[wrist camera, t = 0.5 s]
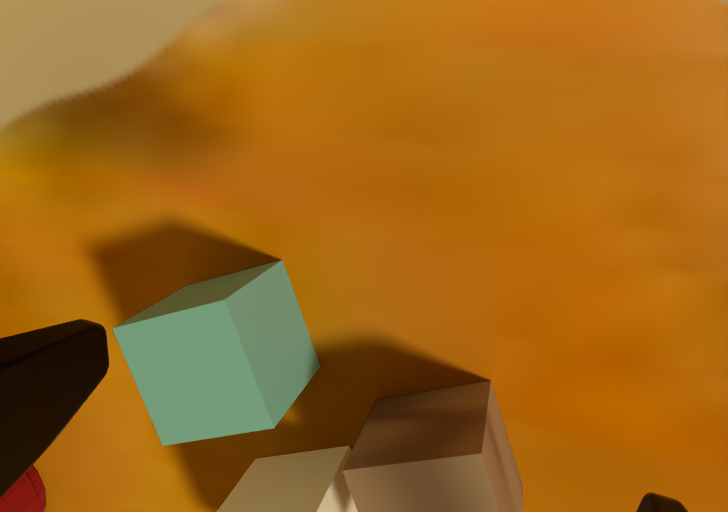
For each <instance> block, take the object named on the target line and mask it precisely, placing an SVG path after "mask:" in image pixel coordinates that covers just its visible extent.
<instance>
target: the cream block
mask: <svg viewBox="0 0 728 512" xmlns="http://www.w3.org/2000/svg"><path fill="white" fill-rule="evenodd" d="M351 452H352V451H351V448H350V446H343V447H335V448H328V449H321V450H314V451H307V452H300V453H293V454H285V455H278V456H271V457H264V458H257V459H255V460H254V461H253V463H252V464H251V465H250V467H249V468H248V470H247V471H246V472H245V474H244V475H243V476H242V478H241V479H240V480H239V482H238V483H237V485H236V486H235V487H234V489H233V490H232V491H231V493H230V494H229V495H228V497H227V498H226V500H225V501H224V502H223V504H222V505H221V506H220V508H219V509H218V510H217V512H357V509H356V506H355V503H354V501H353V498H352V495H351V493H350V490H349V487H348V484H347V482H346V479H345V476H344V474H343V471H342V470H343V468H344V466H345V464H346V462H347V460H348V458H349V456H350V454H351Z"/></svg>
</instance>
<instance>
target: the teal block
mask: <svg viewBox="0 0 728 512" xmlns="http://www.w3.org/2000/svg"><path fill="white" fill-rule="evenodd" d="M112 329H113V331H114V334H115V336H116V338H117V340H118V343H119V345H120V347H121V350H122V352H123V354H124V357H125V359H126V361H127V364H128V366H129V368H130V371H131V373H132V375H133V378H134V380H135V382H136V385H137V387H138V389H139V392H140V394H141V396H142V399H143V401H144V403H145V406H146V408H147V410H148V412H149V415H150V417H151V419H152V422H153V424H154V426H155V429H156V431H157V433H158V436H159V438H160V440H161V443H162V445H163V446H165V445H172V444H178V443H185V442H191V441H197V440H204V439H210V438H216V437H223V436H229V435H235V434H242V433H248V432H254V431H261V430H267V429H273V428H275V426H276V425H277V424H278V422H279V421H280V420H281V418H282V417H283V416H284V414H285V413H286V412H287V410H288V409H289V408H290V406H291V405H292V404H293V402H294V401H295V400H296V398H297V397H298V396H299V394H300V393H301V392H302V390H303V389H304V388H305V386H306V385H307V384H308V382H309V381H310V380H311V378H312V377H313V376H314V374H315V373H316V372H317V370H318V369H319V368H320V363H319V360H318V357H317V355H316V352H315V349H314V346H313V344H312V341H311V338H310V335H309V332H308V330H307V327H306V324H305V321H304V319H303V316H302V313H301V310H300V308H299V305H298V302H297V299H296V297H295V294H294V291H293V288H292V285H291V283H290V280H289V277H288V274H287V272H286V269H285V266H284V263H283V261H282V260H280V261H276V262H272V263H269V264H265V265H261V266H258V267H254V268H250V269H247V270H243V271H239V272H236V273H232V274H228V275H225V276H221V277H217V278H214V279H210V280H206V281H202V282H199V283H195V284H191V285H188V286H185V287H184V288H182V289H180V290H178V291H177V292H175V293H173V294H171V295H170V296H168V297H166V298H164V299H163V300H161V301H159V302H157V303H156V304H154V305H152V306H150V307H149V308H147V309H145V310H143V311H142V312H140V313H138V314H136V315H135V316H133V317H131V318H129V319H128V320H126V321H124V322H122V323H121V324H119V325H117V326H115V327H114V328H112Z"/></svg>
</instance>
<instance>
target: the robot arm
mask: <svg viewBox="0 0 728 512" xmlns="http://www.w3.org/2000/svg"><path fill="white" fill-rule="evenodd" d="M108 367H109V355H108V345H107V335H106V330H105V328H104V327H103V326H102V325H101V324H98V323H95V322H92V321H88V320H84V319H79V320H74V321H70V322H66V323H62V324H58V325H54V326H50V327H46V328H41V329H37V330H33V331H29V332H25V333H21V334H17V335H13V336H8V337H4V338H0V498H1V497H2V496H3V495H4V494H5V493H6V492H7V491H8V490H9V489H10V488H11V487H12V486H13V485H14V484H15V483H16V481H17V480H18V479H19V478H20V477H21V476H22V475H23V474H24V473H25V472H26V471H27V470H28V469H29V468H30V467H31V466H32V465H33V464H34V462H35V461H36V460H37V459H38V458H39V457H40V456H41V455H42V454H43V453H44V452H45V451H46V449H47V448H48V447H49V446H50V445H51V444H52V442H53V441H54V440H55V439H56V438H57V436H58V435H59V434H60V433H61V431H62V430H63V429H64V428H65V426H66V425H67V424H68V423H69V421H70V420H71V419H72V417H73V416H74V415H75V414H76V412H77V411H78V410H79V409H80V407H81V406H82V405H83V403H84V402H85V401H86V400H87V398H88V397H89V396H90V395H91V393H92V392H93V391H94V389H95V388H96V387H97V386H98V384H99V383H100V382H101V381H102V379H103V378H104V376H105V375H106V373H107V370H108ZM637 512H688V511H687V510H686V508H685V507H684V506H683V505H682V504H681V503H680V502H679V501H677V500H675V499H672V498H669V497H666V496H662V495H659V494H656V493H652V492H651V493H647V494H646V495H645V496H644V497H643V499H642V501H641V503H640V505H639V507H638V509H637Z"/></svg>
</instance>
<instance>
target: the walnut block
mask: <svg viewBox="0 0 728 512" xmlns="http://www.w3.org/2000/svg"><path fill="white" fill-rule="evenodd" d="M342 471H343V474H344V476H345V479H346V482H347V484H348V487H349V490H350V493H351V495H352V498H353V501H354V503H355V506H356V509H357V512H523V486H522V482H521V479H520V476H519V472H518V469H517V466H516V462H515V459H514V456H513V452H512V449H511V446H510V442H509V439H508V436H507V432H506V429H505V426H504V423H503V419H502V416H501V413H500V409H499V406H498V403H497V399H496V396H495V393H494V389H493V386H492V383H491V381H485V382H479V383H473V384H467V385H461V386H454V387H448V388H442V389H436V390H430V391H424V392H418V393H412V394H406V395H400V396H394V397H388V398H382V399H377V400H376V402H375V404H374V406H373V408H372V410H371V412H370V414H369V416H368V419H367V421H366V423H365V425H364V427H363V429H362V431H361V433H360V435H359V437H358V439H357V441H356V443H355V445H354V447H353V450H352V452H351V454H350V456H349V458H348V460H347V462H346V464H345V466H344V468H343V470H342Z"/></svg>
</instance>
